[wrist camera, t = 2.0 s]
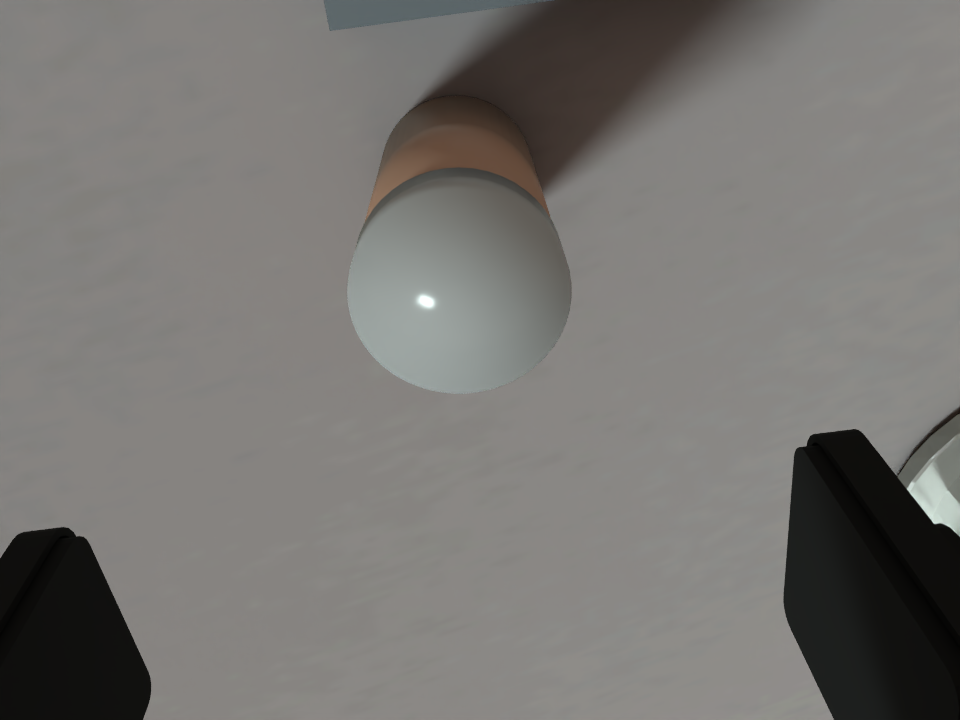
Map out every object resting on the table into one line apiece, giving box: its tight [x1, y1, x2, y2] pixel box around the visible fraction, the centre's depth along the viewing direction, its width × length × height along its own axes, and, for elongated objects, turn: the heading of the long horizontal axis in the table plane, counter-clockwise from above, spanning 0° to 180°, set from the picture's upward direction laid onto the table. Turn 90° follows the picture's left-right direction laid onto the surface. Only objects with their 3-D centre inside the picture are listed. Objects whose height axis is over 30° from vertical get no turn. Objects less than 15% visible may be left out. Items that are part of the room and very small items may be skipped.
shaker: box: [347, 95, 571, 394], centre depth 23 cm, size 5×5×10 cm
